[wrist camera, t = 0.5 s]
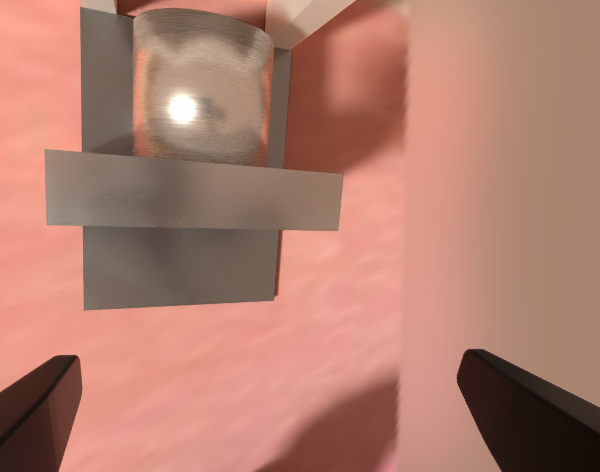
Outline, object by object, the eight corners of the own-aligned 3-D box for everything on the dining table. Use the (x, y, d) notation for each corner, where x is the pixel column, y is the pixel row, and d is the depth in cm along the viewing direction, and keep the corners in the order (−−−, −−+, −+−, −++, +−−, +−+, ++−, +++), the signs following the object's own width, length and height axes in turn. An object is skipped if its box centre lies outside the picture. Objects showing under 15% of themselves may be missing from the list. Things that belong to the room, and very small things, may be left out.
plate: (272, 298, 26) (273, 300, 25) (84, 307, 22) (83, 310, 21) (289, 52, 23) (291, 50, 23) (81, 9, 19) (80, 6, 19)
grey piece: (283, 210, 24) (338, 231, 17) (81, 202, 20) (46, 224, 13) (292, 75, 23) (356, 38, 16) (78, 36, 18) (39, -37, 12)
